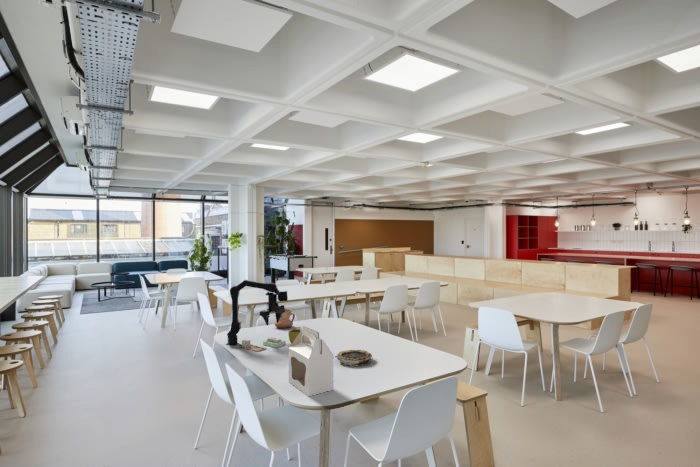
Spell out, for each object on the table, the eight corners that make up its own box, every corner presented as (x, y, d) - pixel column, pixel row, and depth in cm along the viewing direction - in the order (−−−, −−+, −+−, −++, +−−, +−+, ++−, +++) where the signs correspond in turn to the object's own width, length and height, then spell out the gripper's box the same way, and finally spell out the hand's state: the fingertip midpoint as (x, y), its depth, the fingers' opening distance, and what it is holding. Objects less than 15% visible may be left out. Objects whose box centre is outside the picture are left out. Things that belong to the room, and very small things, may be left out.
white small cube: (267, 344, 265) (267, 338, 265) (271, 343, 268) (271, 337, 268) (271, 345, 263) (271, 339, 263) (276, 343, 266) (276, 337, 266)
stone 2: (272, 345, 262) (272, 339, 262) (277, 344, 265) (277, 338, 265) (276, 346, 260) (276, 340, 260) (281, 345, 263) (281, 339, 263)
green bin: (263, 345, 264) (263, 341, 264) (273, 342, 271) (273, 338, 271) (274, 348, 257) (274, 343, 257) (285, 345, 264) (285, 340, 264)
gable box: (288, 382, 197) (288, 326, 197) (311, 377, 204) (311, 323, 205) (309, 397, 178) (308, 335, 179) (333, 390, 186) (333, 331, 186)
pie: (387, 362, 229) (387, 353, 229) (354, 374, 210) (354, 364, 210) (353, 352, 250) (353, 344, 250) (320, 362, 230) (320, 353, 230)
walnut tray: (238, 347, 259) (238, 346, 259) (247, 345, 265) (247, 343, 265) (257, 352, 247) (257, 351, 247) (266, 350, 253) (266, 348, 253)
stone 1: (241, 346, 260) (241, 340, 260) (246, 345, 263) (246, 339, 263) (245, 347, 257) (245, 341, 257) (250, 346, 260) (250, 340, 260)
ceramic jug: (276, 330, 306) (277, 312, 307) (270, 326, 319) (271, 309, 319) (298, 328, 316) (298, 310, 316) (291, 324, 328) (291, 307, 328)
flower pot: (300, 346, 262) (300, 332, 262) (288, 345, 264) (288, 332, 264) (304, 342, 271) (304, 329, 271) (292, 342, 273) (292, 329, 273)
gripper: (270, 304, 258) (270, 328, 258) (290, 300, 273) (290, 323, 273) (259, 302, 265) (259, 326, 265) (279, 299, 280) (279, 321, 280)
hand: (272, 324), depth 270 cm, fingers open, 9 cm apart
